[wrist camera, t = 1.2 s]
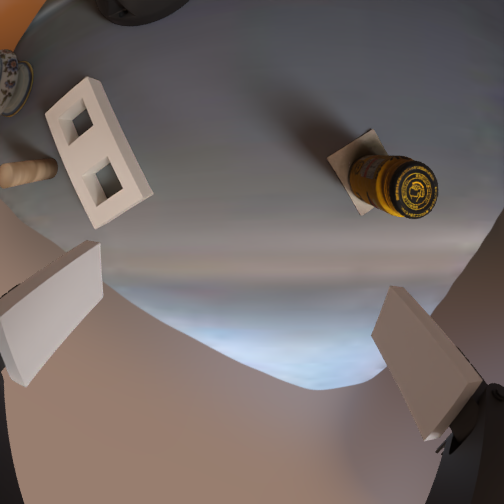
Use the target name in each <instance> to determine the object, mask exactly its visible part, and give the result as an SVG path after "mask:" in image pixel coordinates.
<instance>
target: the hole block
mask: <svg viewBox="0 0 504 504" xmlns="http://www.w3.org/2000/svg"><path fill="white" fill-rule="evenodd" d="M86 108H87V111H88V113H89V116H90V118H91V120H92V123H93V126H92V127H91V128H90V129H88V130H87V131H86V132H85V133H83V134H82V135H81V136H80V137H79V136H78V133H77V131H76V129H75V126H74V124H73V121H72V120H73V119H74V118H76V117H77V116H78V115H79V114H80V113H82V112H83V111H84V110H85V109H86ZM45 116H46V119H47V122H48V125H49V127H50V130H51V133H52V136H53V138H54V141H55V143H56V146H57V148H58V151H59V153H60V156H61V158H62V161H63V163H64V166H65V168H66V170H67V172H68V175H69V177H70V179H71V181H72V184H73V186H74V188H75V190H76V192H77V194H78V197H79V199H80V201H81V203H82V205H83V207H84V209H85V211H86V213H87V215H88V217H89V219H90V221H91V223H92V225H93V227H94V228H95V229H97V228H99V227H101V226H103V225H105V224H107V223H108V222H110V221H111V220H113V219H115V218H116V217H118V216H119V215H121V214H122V213H124V212H125V211H127V210H129V209H130V208H132V207H133V206H135V205H137V204H138V203H140V202H141V201H143V200H145V199H146V198H148V197H150V196H151V195H153V194H154V193H153V192H152V190H151V188H150V186H149V184H148V182H147V180H146V178H145V176H144V174H143V172H142V170H141V168H140V166H139V164H138V162H137V160H136V158H135V156H134V154H133V152H132V150H131V148H130V146H129V143H128V141H127V139H126V137H125V135H124V133H123V131H122V129H121V127H120V124H119V122H118V120H117V118H116V116H115V113H114V111H113V109H112V107H111V105H110V102H109V100H108V98H107V96H106V93H105V91H104V89H103V86H102V84H101V82H100V81H98V80H95V79H93V78H90V77H88V76H87V77H86V78H85V79H83V80H82V81H81V82H80V83H78V84H77V85H76V86H75V87H74V88H73V89H71V90H70V91H69V92H68V93H67V94H66V95H65V96H63V97H62V98H61V99H60V100H59V101H58V102H57V103H56V104H55V105H54V106H53V107H52V108H50V109H49V110H48V111H47V112H46V113H45ZM109 163H111V165H112V167H113V169H114V171H115V173H116V175H117V177H118V179H119V181H120V183H121V185H122V187H123V189H122V190H120V191H119V192H117V193H116V194H114V195H113V196H111V197H110V198H108V199H107V197H106V195H105V193H104V191H103V189H102V187H101V185H100V183H99V180H98V178H97V176H96V174H95V173H97V172H98V171H99V170H101V169H102V168H103V167H105V166H106V165H107V164H109Z"/></svg>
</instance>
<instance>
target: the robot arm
mask: <svg viewBox="0 0 504 504" xmlns="http://www.w3.org/2000/svg"><path fill="white" fill-rule="evenodd" d="M95 1H96V4H97V7H98V9H99V11H100V12H101V13H102V14H103V15H104V16H105V17H106V18H107V19H109V20H110V21H111V22H113V23H115V24H118V25H122V26H138V25H144V24H148V23H151V22H154V21H157V20H159V19H162V18H164V17H166V16H168V15H170V14H172V13H173V12H175V11H176V10H178V9H179V8H181V7H182V6H183V5H185V4H186V3H187V2H188V1H189V0H95ZM102 298H103V286H102V272H101V251H100V243H99V242H94V241H88V240H86V241H85V242H83V243H81V244H80V245H78V246H77V247H75V248H73V249H72V250H70V251H69V252H67V253H66V254H64V255H62V256H61V257H59V258H58V259H56V260H55V261H53V262H52V263H50V264H49V265H47V266H46V267H44V268H43V269H41V270H40V271H38V272H37V273H35V274H34V275H32V276H31V277H30V278H28V279H27V280H25V281H24V282H22V283H21V284H19V285H16V286H15V287H13V288H12V289H11V290H9V291H8V293H5V294H4V295H3V296H2V297H1V298H0V504H24V502H23V498H22V495H21V492H20V488H19V484H18V480H17V477H16V473H15V468H14V464H13V459H12V454H11V448H10V443H9V437H8V429H7V421H6V411H5V400H4V399H5V398H4V380H3V376H2V374H1V371H2V370H3V368H4V367H6V369H7V371H8V374H9V376H10V378H11V379H12V380H13V381H15V382H17V383H19V384H20V385H22V386H24V387H27V386H28V384H29V383H30V382H31V380H32V379H33V378H34V377H35V375H36V374H37V373H38V372H39V370H40V369H41V368H42V367H43V365H44V364H45V363H46V362H47V360H48V359H49V358H50V357H51V356H52V354H53V353H54V352H55V351H56V349H57V348H58V347H59V346H60V345H61V343H62V342H63V341H64V340H65V339H66V338H67V337H68V336H69V334H70V333H71V332H72V331H73V330H74V328H75V327H76V326H77V325H78V324H79V323H80V322H81V321H82V320H83V318H84V317H85V316H86V315H87V314H88V313H89V312H90V311H91V309H93V308H94V306H95V305H96V304H97V303H98V302H99V301H100V300H101V299H102ZM371 336H372V338H373V340H374V342H375V344H376V345H377V347H378V349H379V351H380V353H381V355H382V357H383V359H384V360H385V362H386V364H387V366H388V368H389V370H390V372H391V374H392V376H393V378H394V380H395V381H396V384H397V386H398V388H399V390H400V391H401V394H402V396H403V398H404V400H405V402H406V404H407V406H408V408H409V410H410V412H411V414H412V416H413V418H414V420H415V423H416V425H417V427H418V429H419V431H420V433H421V436H422V438H423V440H424V441H426V440H431V439H435V438H439V437H440V436H441V435H442V434H443V433H444V432H445V430H446V429H447V428H448V427H450V428H451V430H452V433H451V434H450V435H449V436H448V438H447V439H446V440H445V441H444V442H443V443H442V444H441V445H440V446H439V447H438V449H437V450H436V453H438V452H439V451H440V450H441V449H442V448H444V451H443V452H442V454H441V455H442V458H441V462H440V465H439V468H438V471H437V474H436V477H435V480H434V482H433V485H432V488H431V491H430V493H429V496H428V498H427V501H426V503H425V504H504V387H503V386H501V385H499V384H496V383H491V384H489V385H487V384H486V382H485V381H484V379H483V378H482V377H481V375H480V374H479V373H478V372H477V370H476V369H475V368H474V367H473V365H472V364H470V362H469V360H468V359H467V358H466V357H465V355H464V354H463V353H462V352H461V350H460V349H459V348H458V347H457V346H455V345H454V344H453V342H451V340H450V339H449V338H448V337H447V335H446V334H445V333H444V332H443V331H442V330H441V328H440V327H439V326H438V325H437V324H436V323H435V322H434V320H433V319H432V318H431V317H430V316H429V315H428V314H427V313H426V311H425V310H424V309H423V308H422V307H421V306H420V305H419V304H418V303H417V302H416V300H415V299H414V298H413V297H412V296H411V295H410V294H409V293H408V292H407V291H406V290H405V289H404V288H403V287H396V286H390V287H389V290H388V293H387V296H386V299H385V301H384V304H383V307H382V309H381V312H380V315H379V317H378V320H377V322H376V325H375V327H374V330H373V332H372V335H371Z"/></svg>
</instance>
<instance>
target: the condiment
mask: <svg viewBox="0 0 504 504" xmlns="http://www.w3.org/2000/svg"><path fill="white" fill-rule="evenodd" d="M327 159H328V161H329V163H330V164H331V166H332V167H333V169H334V171H335V172H336V174H337V175H338V177H339V179H340V180H341V182H342V184H343V185H344V187H345V189H346V191H347V192H348V194H349V196H350V198H351V199H352V201H353V203H354V205H355V206H356V208H357V210H358V212H359V213H360V215H361V216H362V215H364V214H365V213H367V212H368V211H369V210H371V209H372V208H374V207H376V208H377V209H380V210H382V211H385V212H386V213H389V214H391V215H394V216H398V217H406V218H409V219H418V218H422V217H424V216H425V215H427V214H428V213H429V212H431V211H432V208H433V207H434V206H435V204H436V201H437V197H438V183H437V179H436V177H435V175H434V173H433V171H432V170H431V169H430V168H429V167H428V166H426V165H425V164H424V163H421V162H419V161H414V160H413V159H411V158H408V157H405V156H389V155H388V154H387V152H386V151H385V149H384V147H383V145H382V144H381V142H380V140H379V138H378V136H377V134H376V133H375V131H374V130H371V131H369V132H368V133H366V134H364V135H363V136H361V137H359V138H358V139H356V140H354V141H353V142H351V143H350V144H348V145H347V146H345V147H343V148H342V149H340V150H338V151H337V152H335V153H334V154H332V155H331V156H329V157H328V158H327ZM349 161H350V164H349ZM349 165H350V167H348V166H349Z"/></svg>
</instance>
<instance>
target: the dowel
mask: <svg viewBox="0 0 504 504" xmlns="http://www.w3.org/2000/svg"><path fill="white" fill-rule="evenodd" d="M57 171H58V165H57V162H56V160H55V159H53V158H48V159H38V160H29V161H20V162H13V163H5V164H2V165H1V166H0V186H1V187H2V188H8V187H13V186H17V185H21V184H26V183H31V182H35V181H40V180H45V179H51V178H53V177H55V175H56V174H57Z"/></svg>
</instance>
